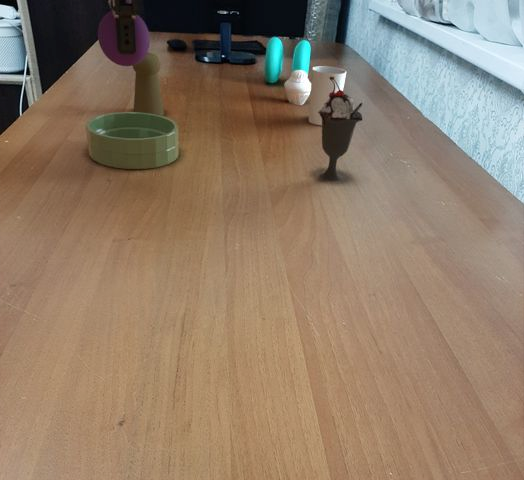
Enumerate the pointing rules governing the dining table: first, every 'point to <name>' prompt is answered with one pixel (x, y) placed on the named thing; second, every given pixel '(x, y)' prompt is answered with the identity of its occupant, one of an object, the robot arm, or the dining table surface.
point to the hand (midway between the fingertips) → (124, 47)
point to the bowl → (132, 140)
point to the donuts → (276, 58)
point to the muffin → (297, 87)
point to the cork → (148, 86)
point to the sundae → (337, 128)
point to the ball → (110, 41)
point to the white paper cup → (323, 89)
